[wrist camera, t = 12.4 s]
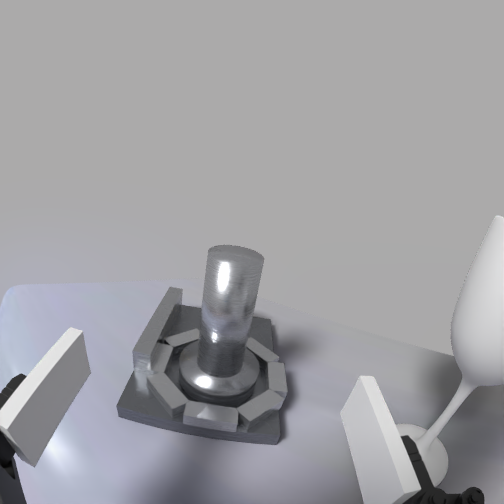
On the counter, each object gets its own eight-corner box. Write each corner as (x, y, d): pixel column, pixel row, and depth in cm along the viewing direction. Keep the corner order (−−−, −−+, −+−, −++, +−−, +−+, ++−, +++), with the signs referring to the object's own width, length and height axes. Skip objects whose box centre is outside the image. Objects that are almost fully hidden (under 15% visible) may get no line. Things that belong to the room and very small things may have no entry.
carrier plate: (272, 329, 37) (283, 284, 35) (283, 446, 19) (306, 395, 17) (168, 312, 36) (171, 266, 34) (118, 417, 19) (107, 361, 17)
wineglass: (353, 441, 20) (461, 200, 14) (414, 415, 23) (504, 221, 17) (402, 510, 12) (581, 251, 6) (460, 466, 15) (584, 259, 9)
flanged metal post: (254, 359, 28) (279, 247, 24) (256, 410, 21) (291, 282, 18) (185, 349, 28) (196, 234, 24) (171, 398, 21) (176, 264, 17)
